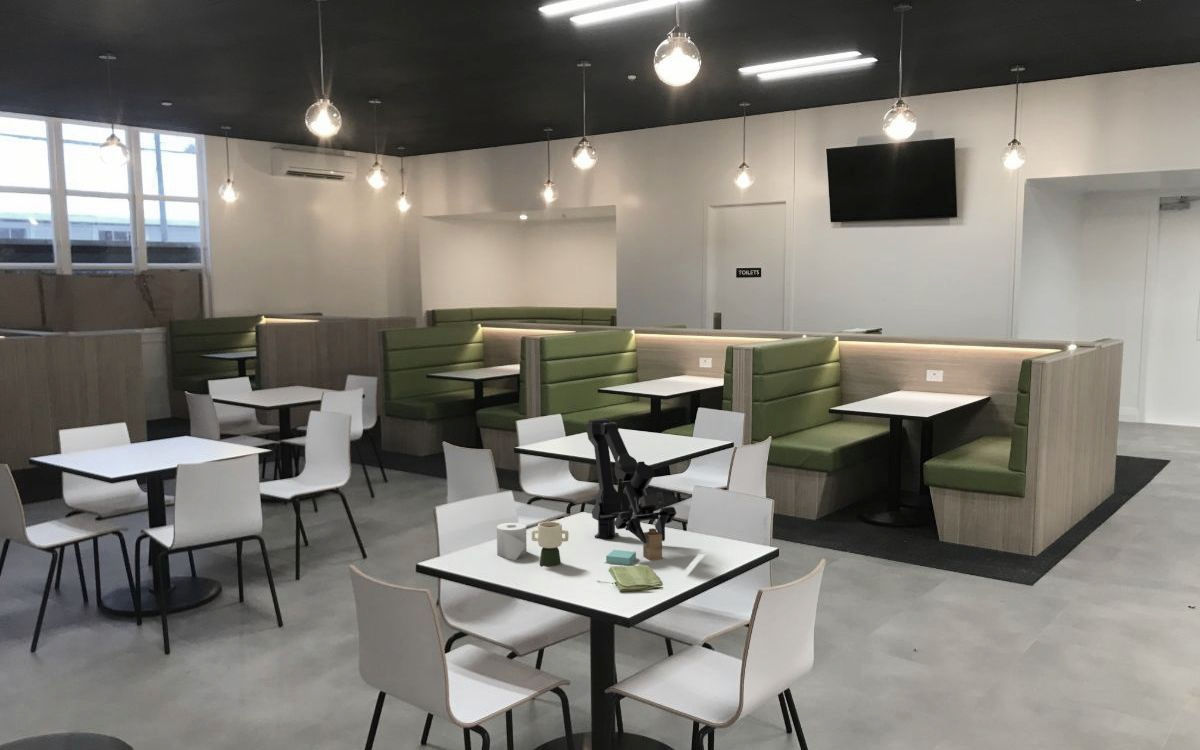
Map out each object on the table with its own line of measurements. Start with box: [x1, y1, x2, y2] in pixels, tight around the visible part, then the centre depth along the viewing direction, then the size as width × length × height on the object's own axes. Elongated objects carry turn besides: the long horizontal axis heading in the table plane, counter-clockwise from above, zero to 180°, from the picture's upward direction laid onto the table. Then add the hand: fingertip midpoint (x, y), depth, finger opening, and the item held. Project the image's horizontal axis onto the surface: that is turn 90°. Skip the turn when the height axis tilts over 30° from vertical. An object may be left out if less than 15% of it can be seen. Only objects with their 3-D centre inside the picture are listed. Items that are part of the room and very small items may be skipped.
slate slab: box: [604, 557, 639, 566], centre depth 271 cm, size 8×8×2 cm
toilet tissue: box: [496, 522, 528, 561], centre depth 282 cm, size 9×13×9 cm
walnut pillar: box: [642, 528, 663, 561], centre depth 273 cm, size 4×4×10 cm
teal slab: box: [605, 549, 637, 566], centre depth 271 cm, size 7×7×2 cm
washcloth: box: [608, 564, 664, 593], centre depth 254 cm, size 13×18×3 cm
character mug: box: [531, 521, 569, 568], centre depth 268 cm, size 11×7×13 cm, turn 86°
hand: (654, 541), depth 272 cm, fingers open, 6 cm apart
